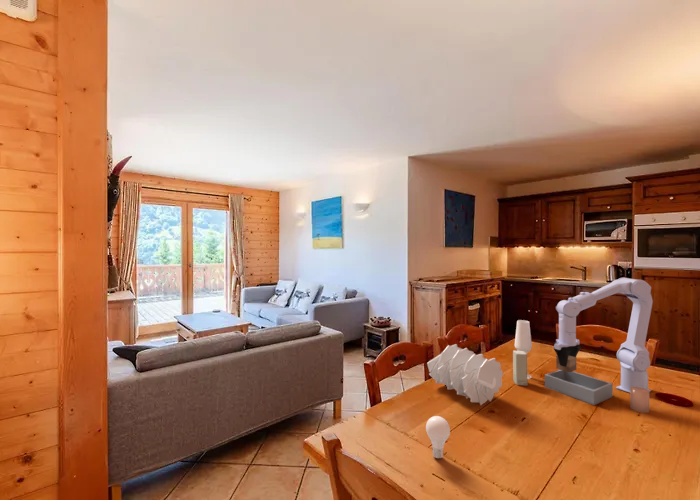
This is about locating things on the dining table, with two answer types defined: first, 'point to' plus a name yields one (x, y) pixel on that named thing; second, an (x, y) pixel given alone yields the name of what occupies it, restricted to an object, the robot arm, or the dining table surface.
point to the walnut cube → (567, 364)
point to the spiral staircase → (467, 373)
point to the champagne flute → (523, 338)
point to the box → (520, 367)
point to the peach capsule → (639, 399)
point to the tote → (579, 386)
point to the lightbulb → (437, 434)
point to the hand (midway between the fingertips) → (567, 364)
